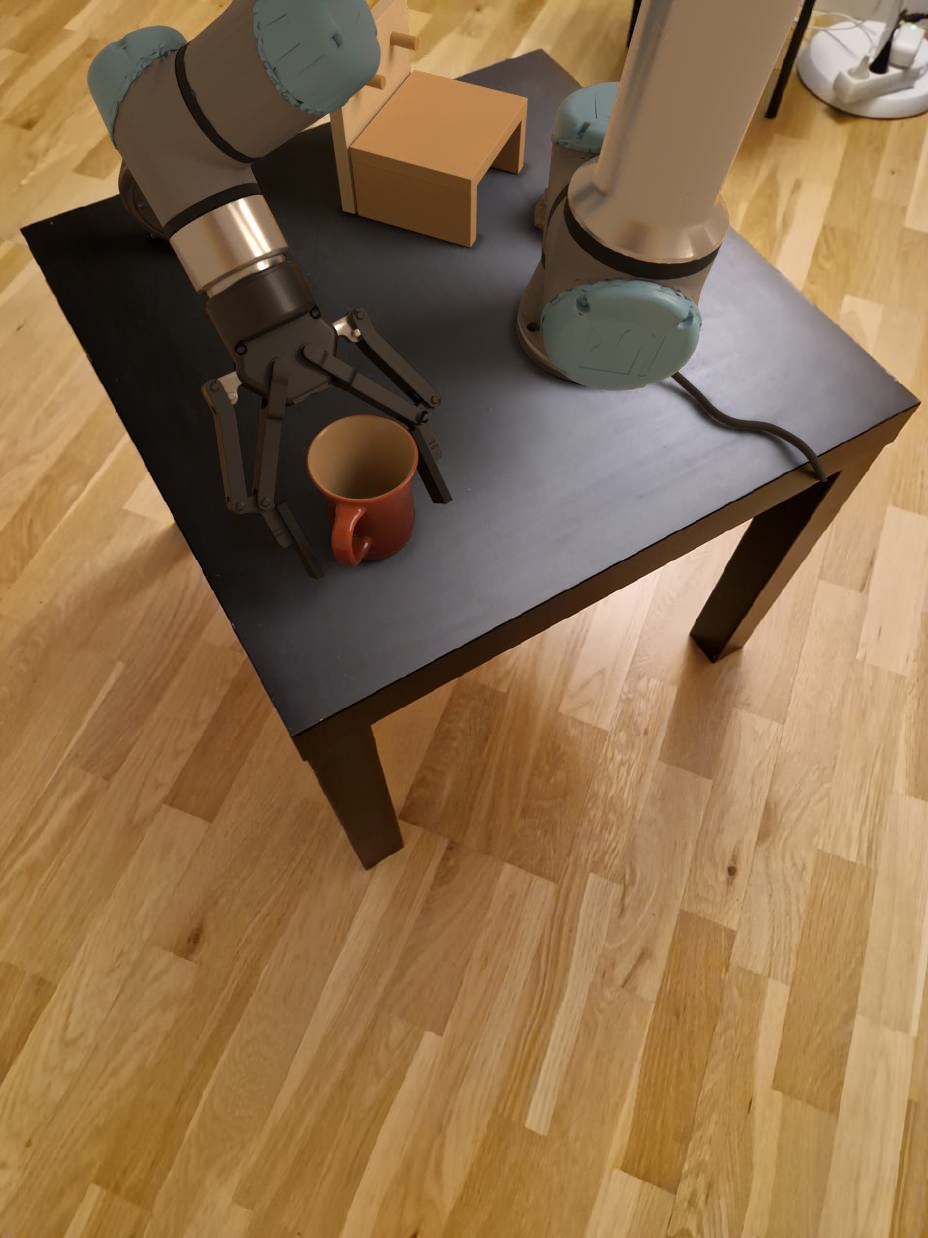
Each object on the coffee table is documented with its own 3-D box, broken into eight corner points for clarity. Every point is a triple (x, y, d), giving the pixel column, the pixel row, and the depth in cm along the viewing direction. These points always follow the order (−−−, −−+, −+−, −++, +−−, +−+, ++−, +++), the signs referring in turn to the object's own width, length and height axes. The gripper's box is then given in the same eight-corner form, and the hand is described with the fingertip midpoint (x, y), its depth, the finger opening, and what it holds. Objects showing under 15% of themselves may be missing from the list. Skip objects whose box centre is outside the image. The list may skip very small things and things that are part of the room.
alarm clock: (244, 228, 93) (205, 76, 79) (239, 260, 91) (198, 109, 76) (147, 230, 93) (90, 78, 79) (139, 262, 90) (79, 111, 76)
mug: (340, 484, 76) (323, 406, 67) (433, 500, 75) (429, 422, 66) (302, 594, 70) (278, 525, 61) (402, 612, 70) (393, 545, 61)
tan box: (523, 166, 99) (533, 17, 85) (470, 247, 92) (472, 99, 78) (402, 134, 102) (393, -16, 88) (342, 210, 95) (321, 61, 81)
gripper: (368, 228, 67) (478, 469, 75) (93, 355, 60) (245, 606, 68) (401, 202, 60) (518, 469, 68) (95, 341, 54) (263, 621, 61)
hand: (382, 537), depth 68 cm, fingers open, 12 cm apart
